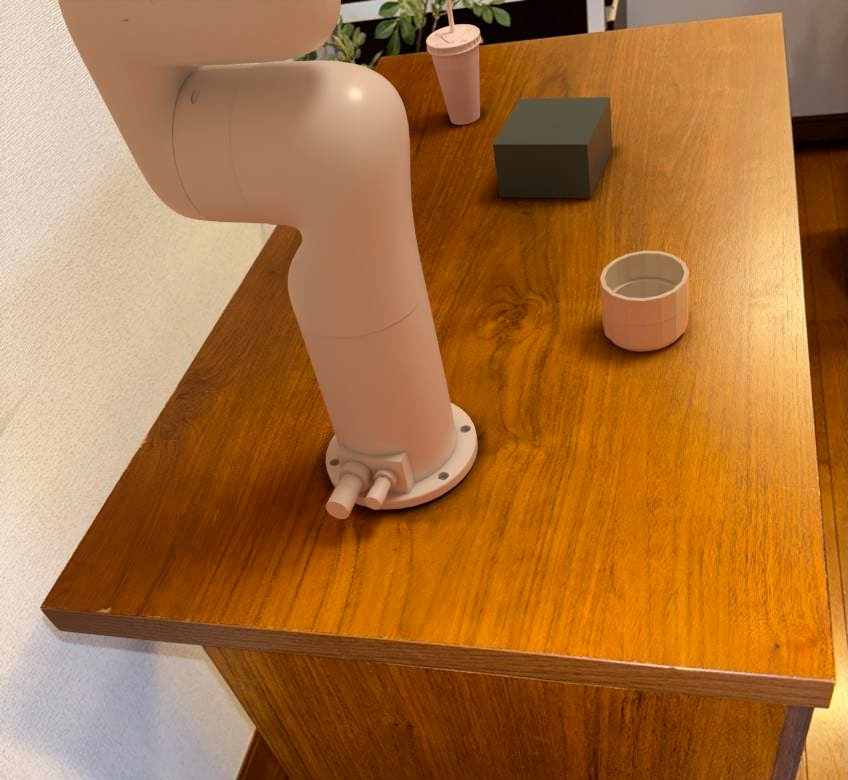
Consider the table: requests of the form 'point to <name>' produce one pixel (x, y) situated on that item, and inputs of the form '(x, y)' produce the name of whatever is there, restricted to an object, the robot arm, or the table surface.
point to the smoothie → (457, 68)
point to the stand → (554, 148)
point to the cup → (645, 300)
